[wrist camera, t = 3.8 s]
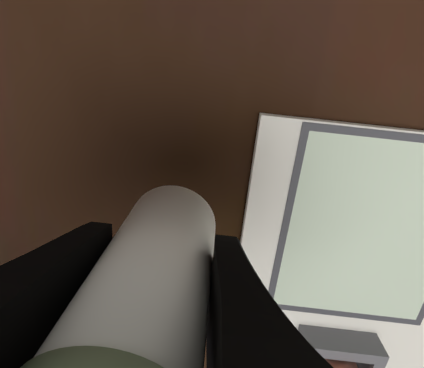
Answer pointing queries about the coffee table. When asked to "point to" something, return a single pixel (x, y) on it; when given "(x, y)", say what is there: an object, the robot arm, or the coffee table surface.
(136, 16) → the coffee table surface
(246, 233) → the activity board
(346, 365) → the button
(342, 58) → the coffee table surface
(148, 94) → the coffee table surface
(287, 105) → the coffee table surface
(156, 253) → the marker
